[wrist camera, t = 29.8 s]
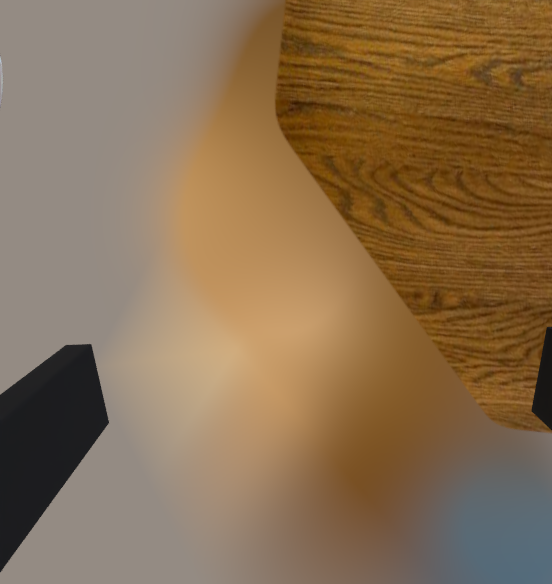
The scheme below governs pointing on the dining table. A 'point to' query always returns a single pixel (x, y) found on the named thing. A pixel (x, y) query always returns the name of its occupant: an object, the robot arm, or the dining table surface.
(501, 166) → the dining table surface
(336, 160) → the dining table surface
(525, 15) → the dining table surface
